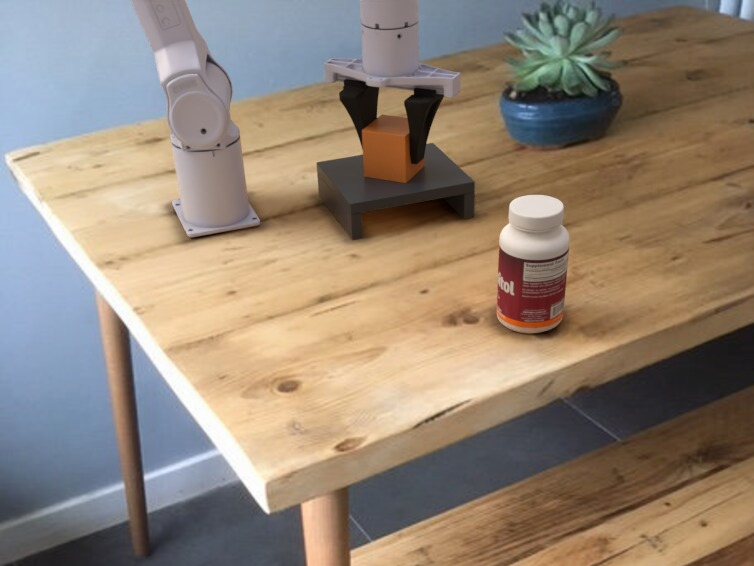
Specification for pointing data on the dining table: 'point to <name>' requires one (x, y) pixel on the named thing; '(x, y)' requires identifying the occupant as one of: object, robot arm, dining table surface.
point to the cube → (388, 150)
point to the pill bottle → (532, 265)
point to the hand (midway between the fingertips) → (393, 157)
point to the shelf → (391, 188)
